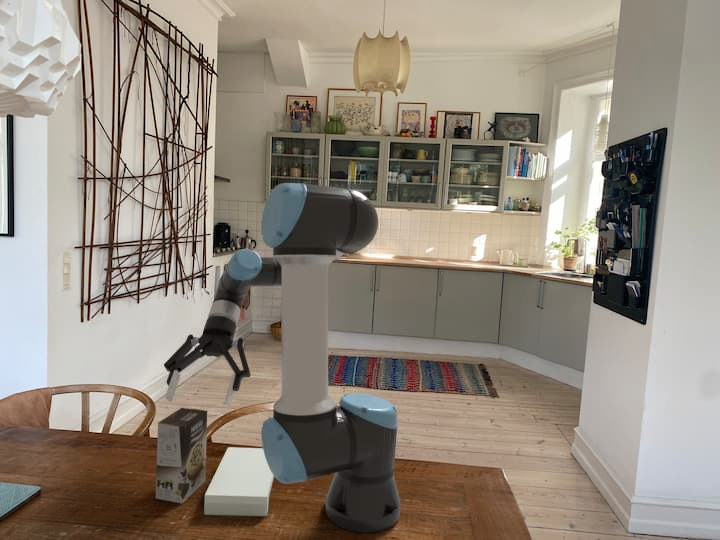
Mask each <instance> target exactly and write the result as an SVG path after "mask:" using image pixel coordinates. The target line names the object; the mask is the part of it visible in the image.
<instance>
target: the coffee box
mask: <svg viewBox="0 0 720 540" xmlns="http://www.w3.org/2000/svg"><path fill="white" fill-rule="evenodd" d="M207 430H208V410H204V409H203V410H202V409H195V408H187V407H180V408H179V409H178V410H175V411H174V412H173V413H171V414H169V415H168V416H167V417H164V418H163V419H162V420H160V421H158V422H157V439H156V441H157V444H156V476H155V477H156V478H155V479H156V480H155V500H156V499H157V500H162V501H167V502H173V503H178V504H184V503H185V501H187V500H188V499H189V498H190V497H191V496H192V495H193V494H194V493H195V492H196V491H197V490H198V489H199V488H200V487H201V486H202V485H204V483H205V482H206V468H207V467H206V466H207V464H206V463H207V438H208V437H207V433H208V432H207Z"/></svg>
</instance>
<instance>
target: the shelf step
mask: <svg viewBox="0 0 720 540" xmlns="http://www.w3.org/2000/svg"><path fill="white" fill-rule="evenodd" d="M274 478H275V477H274V475H273V474H272V472H271V470H270V468H269V466H268V463H267V461H266V458H265V454H264V450H263V447H262V448H261V447H259V448H258V447H236V446H235V447H233V446H232V447H230V446H229V447H228V446H227V449H226V451H225V452H224V455H223V457H222V459H221V461H220V463H219V465H218V467H217V469H216V472H215V474H214V475H213V477H212V479H211V481H210V483H209V485H208V488H207V490H206V491H205V494H204V506H203V507H204V510H203V512H204V513H203V515H204V516H205V515H207V516H208V515H209V516H210V515H211V516H213V515H214V516H237V517H238V516H241V517H247V516H248V517H267V516H268V511H269V501H270V499H269V498H270V494H271V490H272V486H273V482H274Z"/></svg>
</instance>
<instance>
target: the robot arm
mask: <svg viewBox="0 0 720 540" xmlns="http://www.w3.org/2000/svg"><path fill="white" fill-rule="evenodd" d="M260 225H261V227H260V232H261V236H262V241H263V243H264V244H265V246H267V247H269V248H272V253H273V254H272V256H271V257H270V256H269V257H267V256H266V257H265V256H264V257H261V256H260V255H259V253H257V252H256V251H254V250H251V249H249V248H243V249H239V250H237V251H236V252H234V254H233V255H232V256H231V257H230V259H229V261H228V263H227V265H226V268H225V270H224V271H223V272H222V273H221V276H220V279H219V280H218V284H217V288H216V292H215V295H214V297H213V301H212V304H211V306H210V310H209V312H208V315H207V319H206V322H205V325H204V327H203V330H202V334H201V335H200V336H199V337H196V336H194V335H193V334H191V333H190V334H188V336H187V338H186V339H185V341H184V342H183V343H182V345H181V346H179V348H178V349H177V350H176V351H175V352H174V353H173V354H172V355H171V356H170V357H169V358H168V359H167V360H166V361H165V362H164V364H163V366H164V368H165V370H166V371H167V372H169V373H168V377H167V378H166V379H167V380H166V385H167V386H168V387H167V390H166V393H165V398H166V399H167V401H168V402H173V400H174V397H175V394H176V390H177V389H178V385H179V382H180V379H181V374H180V373H181V372H182V371H184V370H185V369H186V368H188V367H189V366H190V365H192V364H193V363H195V362H196V361H197V360H199V359H202V358H203V357H205V356H206V357H215V358H220V357H221V356H223V357H224V359H225V360H226V362H227V363H228V365H229V367H230V369H231V370H232V371H233V373H232V374H231V377H230V380H229V384H228V386H227V391H226V395H225V400H224V402H225V405H226V406H229V407H230V406H231V405H232V403H233V398H234V394H235V392H238V391H240V386H241V383H242V379H244V378H250V377H251V375H252V374H251V371H250V370H251V369H250V367H249V364H248V360H247V357H246V354H245V346H246V345H245V340H244V338H242V337H239V338H238V339H234V336H235V333H236V331H237V330H236V329H237V325H238V322H239V319H240V315H241V312H242V307H243V305H244V302H245V298H246V296H247V293H248V292H249V291H250V289H251V287H281V396H280V397H279V398H278V399H277V400H276V401H275V402H274V404H273V405H272V406H273V407H272V408H273V410H272V411H273V412H272V413H273V415H272V417H269V418H268V417H267V419H265V420H264V421H263V422H262V426H261V431H260V432H261V433H260V434H261V444H262V448H263V450H264V454H265V458H266V461H267V463H268V466H269V468H270V470H271V472H272V474H273V475H274V478H275V479H276V480H277V481H278V482H280V483H281V484H284V485H289V484H294V483H299V482H300V483H305V482H307V481H310V480H312V479H313V480H314V479H317V478H320V477H325V476H328V475H332V474H334V476H333V478H332V481H331V483H330V486H329V488H328V491H327V494H326V498H325V513H326V515H327V517H328V519H329V520H330V521H331V522H332V523H334V524H335V525H336V526H338V527H340V528H342V529H345V530H347V531H350V532H355V533H362V534H364V533H366V534H368V533H369V534H370V533H376V532H383V531H385V530H387V529H389V528H391V527H393V526H394V525H395V524H396V523H397V521H398V520H399V518H400V515H401V499H400V495H399V491H398V487H397V483H396V480H395V476H394V475H395V458H396V445H397V435H398V434H397V432H398V429H399V425H398V410H397V408H396V406H395V405H394V404H393V403H391V402H390V401H389V400H387V399H385V398H381V397H379V396H376V395H372V394H369V393H368V394H367V393H360V392H359V393H358V392H357V393H356V392H353V393H351V392H350V393H346V394H344V395H342V396H341V397H340V400H339V402H338V404H339V406H337V402H336V401H335V400H334V399H333V398H332V397H331V396H330V395H329V266H330V265H331V263H333V261H335V260H337V259H338V258H341V257H342V256H343V255H353V254H356V253H357V252H359V251H361V250H363V249H364V248H366V247H367V246H368V245H370V243H371V242H372V241H373V240H374V239H375V236H376V234H377V232H378V228H379V216H378V212H377V209H376V208H375V205H374V204H373V202H372V201H371V200H370V198H368V197H367V196H366V195H364V194H363V193H362V192H360V191H358V190H356V189H352V188H347V187H343V188H342V187H337V186H336V187H335V186H328V185H327V186H326V185H319V184H311V183H304V182H297V183H296V182H294V183H293V182H289V183H288V182H284V183H280V184H277V185H275V187H274V188H273V189H272V190H271V192H270V193H269V195H268V196H267V199H266V201H265V204H264V206H263V211H262V216H261V224H260ZM197 344H198V345H197ZM196 345H197V346H196ZM233 346H234V348H235V349H236V350H237V351H238V352H237V353H238V355H239V359H240V362H241V366H242V370H241V369H240V368H239V366H238V364H237V363H236V362H235V360H234V358H233V357H232V355H231V353H230V352H229V350H230V349H231V348H233ZM193 347H195V348H194V349H192V348H193Z"/></svg>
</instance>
